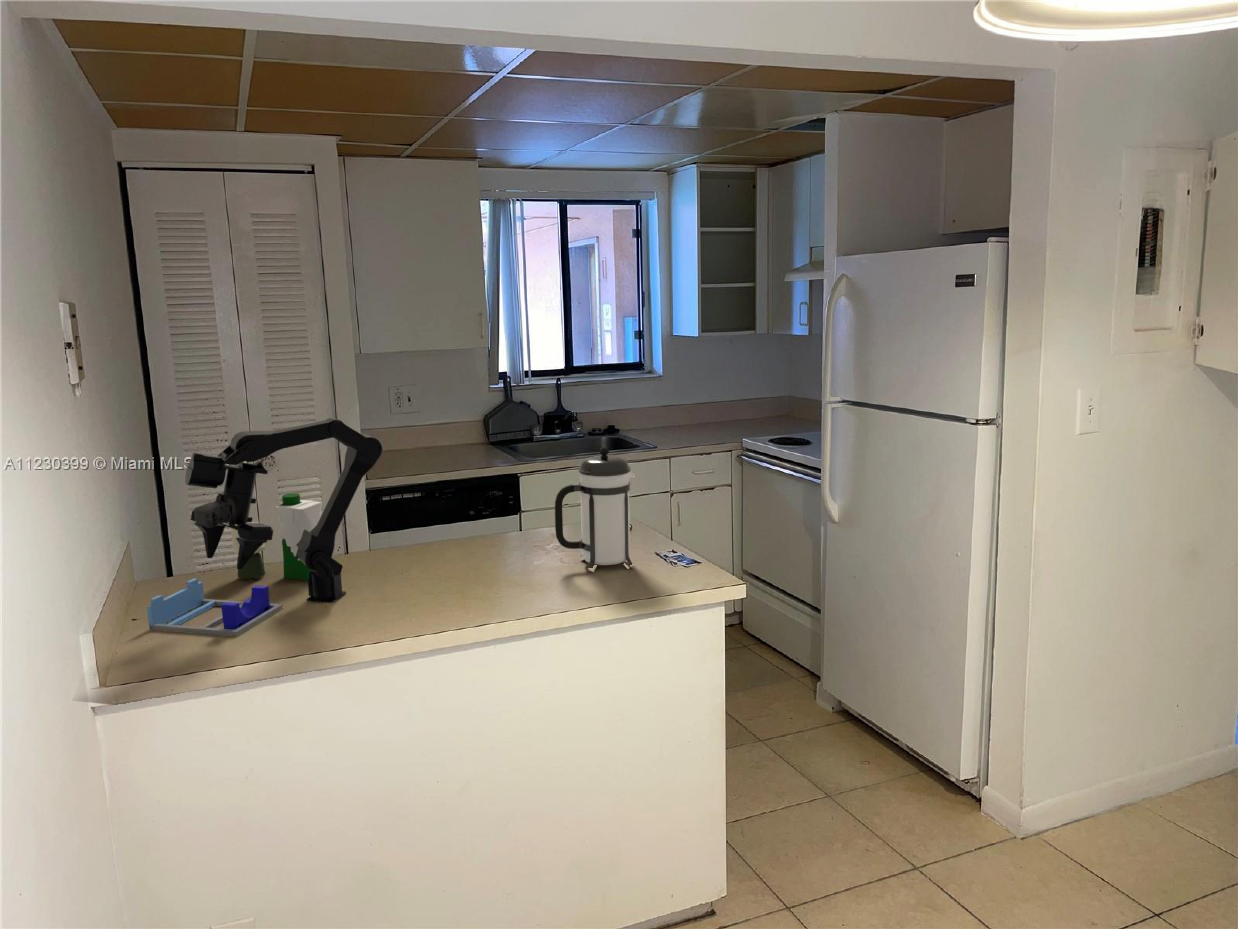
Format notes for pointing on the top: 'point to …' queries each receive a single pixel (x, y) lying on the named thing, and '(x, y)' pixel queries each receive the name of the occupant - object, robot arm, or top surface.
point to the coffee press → (600, 510)
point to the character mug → (254, 564)
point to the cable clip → (246, 608)
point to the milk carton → (296, 531)
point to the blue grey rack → (195, 612)
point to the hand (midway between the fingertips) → (224, 563)
